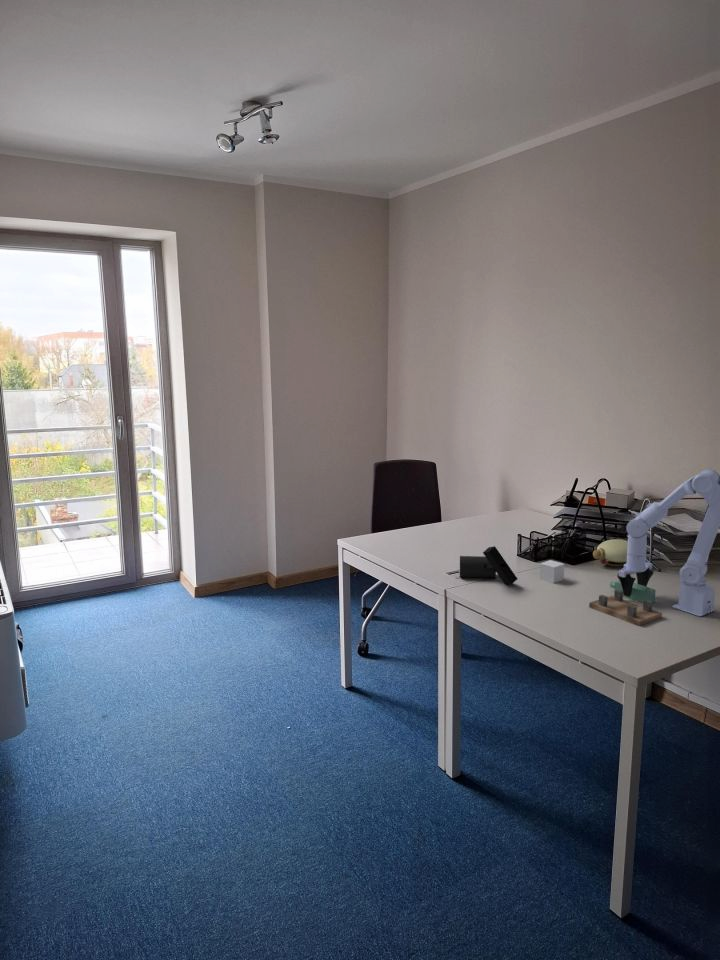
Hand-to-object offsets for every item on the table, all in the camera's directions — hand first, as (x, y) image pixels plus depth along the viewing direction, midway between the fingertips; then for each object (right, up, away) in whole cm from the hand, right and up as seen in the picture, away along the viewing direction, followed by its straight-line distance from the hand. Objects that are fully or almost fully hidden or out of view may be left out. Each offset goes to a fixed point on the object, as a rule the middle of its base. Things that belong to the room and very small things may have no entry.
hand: (634, 593), depth 215 cm
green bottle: (-1, -1, +1) cm, 2 cm away
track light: (-45, +1, +21) cm, 50 cm away
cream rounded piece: (+7, +5, +34) cm, 35 cm away
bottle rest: (-8, -4, -11) cm, 14 cm away
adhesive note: (-22, +1, +20) cm, 29 cm away
